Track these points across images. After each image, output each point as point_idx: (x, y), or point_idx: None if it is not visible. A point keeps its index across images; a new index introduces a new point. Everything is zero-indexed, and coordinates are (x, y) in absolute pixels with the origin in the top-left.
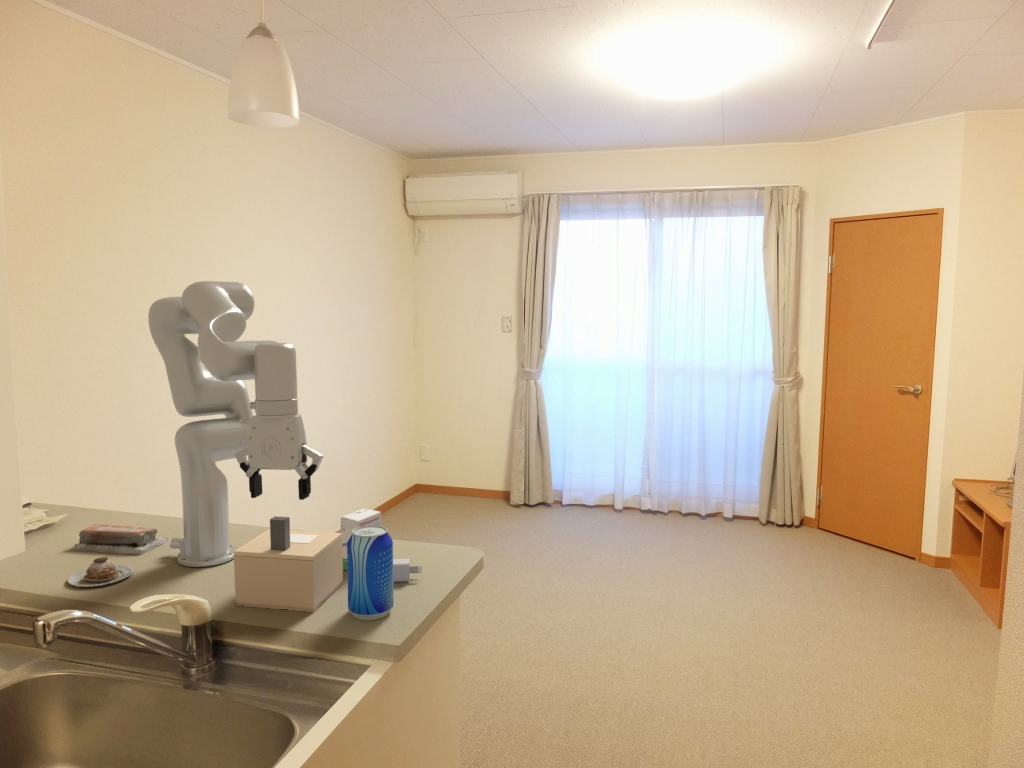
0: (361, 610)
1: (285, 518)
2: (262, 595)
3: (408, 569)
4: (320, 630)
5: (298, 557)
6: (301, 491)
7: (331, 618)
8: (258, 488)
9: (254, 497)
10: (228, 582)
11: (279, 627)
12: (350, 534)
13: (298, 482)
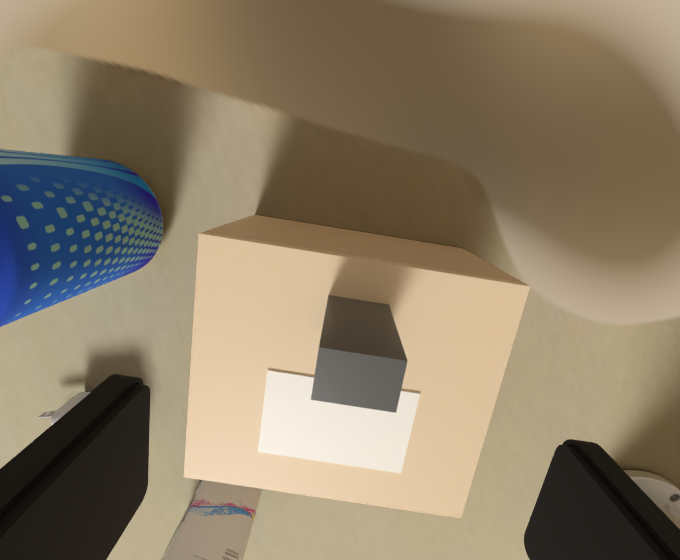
0: (101, 159)
1: (325, 378)
2: (394, 241)
3: (61, 408)
4: (205, 108)
5: (262, 242)
6: (64, 416)
7: (201, 180)
8: (576, 554)
9: (564, 450)
10: (522, 386)
11: (313, 124)
12: (208, 532)
13: (19, 515)
